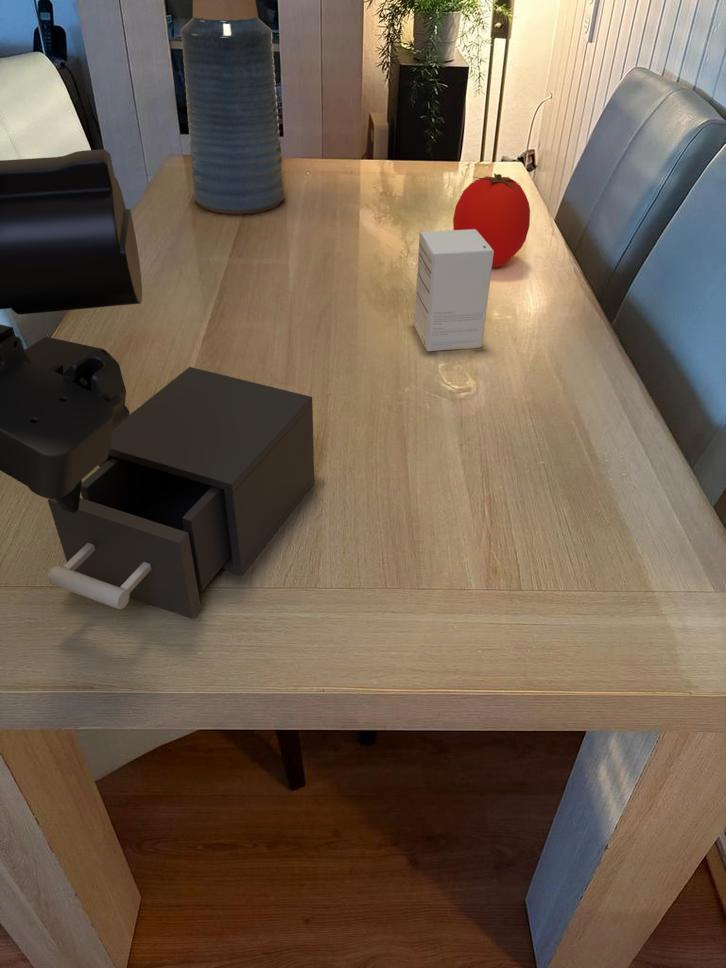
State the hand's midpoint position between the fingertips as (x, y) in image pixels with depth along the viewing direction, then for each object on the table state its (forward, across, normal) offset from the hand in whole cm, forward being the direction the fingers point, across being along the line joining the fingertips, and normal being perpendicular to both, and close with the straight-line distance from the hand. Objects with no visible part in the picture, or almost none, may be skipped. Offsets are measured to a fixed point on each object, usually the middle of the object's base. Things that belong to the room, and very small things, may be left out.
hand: (19, 556), depth 45 cm
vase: (+13, +97, +42) cm, 107 cm away
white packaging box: (+14, +62, -9) cm, 64 cm away
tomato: (+14, +88, -7) cm, 89 cm away
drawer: (+11, +12, 0) cm, 16 cm away
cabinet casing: (+12, +21, 0) cm, 24 cm away
